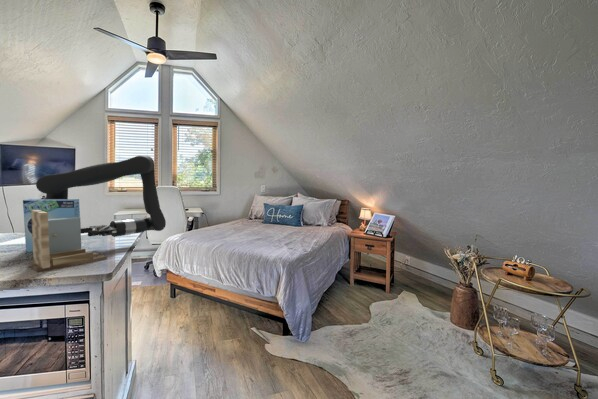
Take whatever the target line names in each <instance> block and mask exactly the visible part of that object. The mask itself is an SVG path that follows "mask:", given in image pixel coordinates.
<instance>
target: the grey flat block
mask: <svg viewBox="0 0 598 399" xmlns="http://www.w3.org/2000/svg"><path fill="white" fill-rule="evenodd" d="M81 223H82V222H81V217H80V218H79V217H68V218H56V219H48V228H49V252H50V254H53V253H59V252H65V251H72V250H78V249H82V234H81Z"/></svg>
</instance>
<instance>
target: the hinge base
mask: <svg viewBox="0 0 598 399" xmlns="http://www.w3.org/2000/svg"><path fill="white" fill-rule="evenodd" d="M31 215H32V238H33V252H32V253H33V254H32V256H33V257H32V258H33V262H29V263H28V266H29V267H30V268H32V269H33V270H35V271H36V272H37V273H41V272H42V273H43V272H48V271H52V270H57V269H61V268H68V267H72V266H76V265H83V264H88V263H93V262H97V261H104V260H108V259H107V258H108V257H107V256H106V255H104V254H103V253H99V252H96V251H88V252H87V251H86V248H81V249H78V250H72V251H65V252H59V253H53V254H50V252H49V228H48V213H47V212H44V211H41V210H31Z"/></svg>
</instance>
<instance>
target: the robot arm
mask: <svg viewBox="0 0 598 399" xmlns="http://www.w3.org/2000/svg"><path fill="white" fill-rule="evenodd" d="M155 169H156V168H155V161H154V159H153V158H152V157H151V156H150V155H146V154H142V155H141V154H140V155H137V156H133V157H130V158H127V159H124V160H121V161H115V162H104V163H99V164H94V165H89V166H85V167H82V168H81V167H80V168H78V169H74V170H72V171H68V172H63V173H54V174H46V175H42V176H41V177H39V178H38V179H37V181H36V183H35V186H36V189H37V190H38V191H39V192H40V193H42V194H45V199H69V189H72V188H76V187H77V188H79V187H88V186H95V185H100V184H103V183H108V182H111V181H115V180H117V179H120V178H123V177H127V176H134V175H140V177H141V178H140V179H141V183H142V198H143V200H142V201H143V205H144V211H145V213H147V214H148V215H149V217H144V218H136V219H120V220H119V219H118V220H112V221H111V222H110V224H109V225H107V224H100V225H91V226H89V227H83V228H81V235H82V234H87V236H88V237H95V236H96V237H97V236H99V237H101V236H102V237H106V236H111V237H114V238H116V237H123V236H130V235H134V234H139V233H141V234H142V233H144V232H147V231H156V232H161V231H163V230H164V229H165V228H166V223H167V222H166V218H165V216H164V213H163V211H162V209H161V206H160V201H159V197H158V190H157V185H156V176H155V174H156V173H155Z"/></svg>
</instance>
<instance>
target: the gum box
mask: <svg viewBox="0 0 598 399" xmlns="http://www.w3.org/2000/svg"><path fill="white" fill-rule="evenodd" d="M22 206H23V207H22V209H23V222H24V223H23V224H24V226H23V227H24V240H25V252H26V253H30V252H31V253H33V238H32V215H31V210H41V211H44V212H47V213H48V219H56V218H68V217H79V218H80V219H81V214H80V213H81V212H80V210H81V209H80V199H79V198H78V199H74V198H73V199H69V198H68V199H46V198H27V199H23V200H22Z"/></svg>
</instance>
